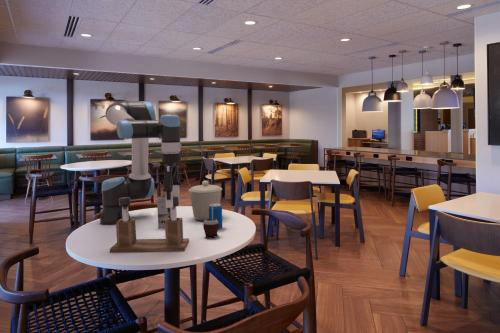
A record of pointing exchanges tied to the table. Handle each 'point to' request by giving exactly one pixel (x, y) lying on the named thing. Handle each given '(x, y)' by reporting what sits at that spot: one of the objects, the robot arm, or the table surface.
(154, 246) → the stand
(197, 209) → the canister
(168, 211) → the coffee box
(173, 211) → the plunger
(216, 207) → the beverage can
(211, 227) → the mate gourd
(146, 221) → the table surface
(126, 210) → the plunger
